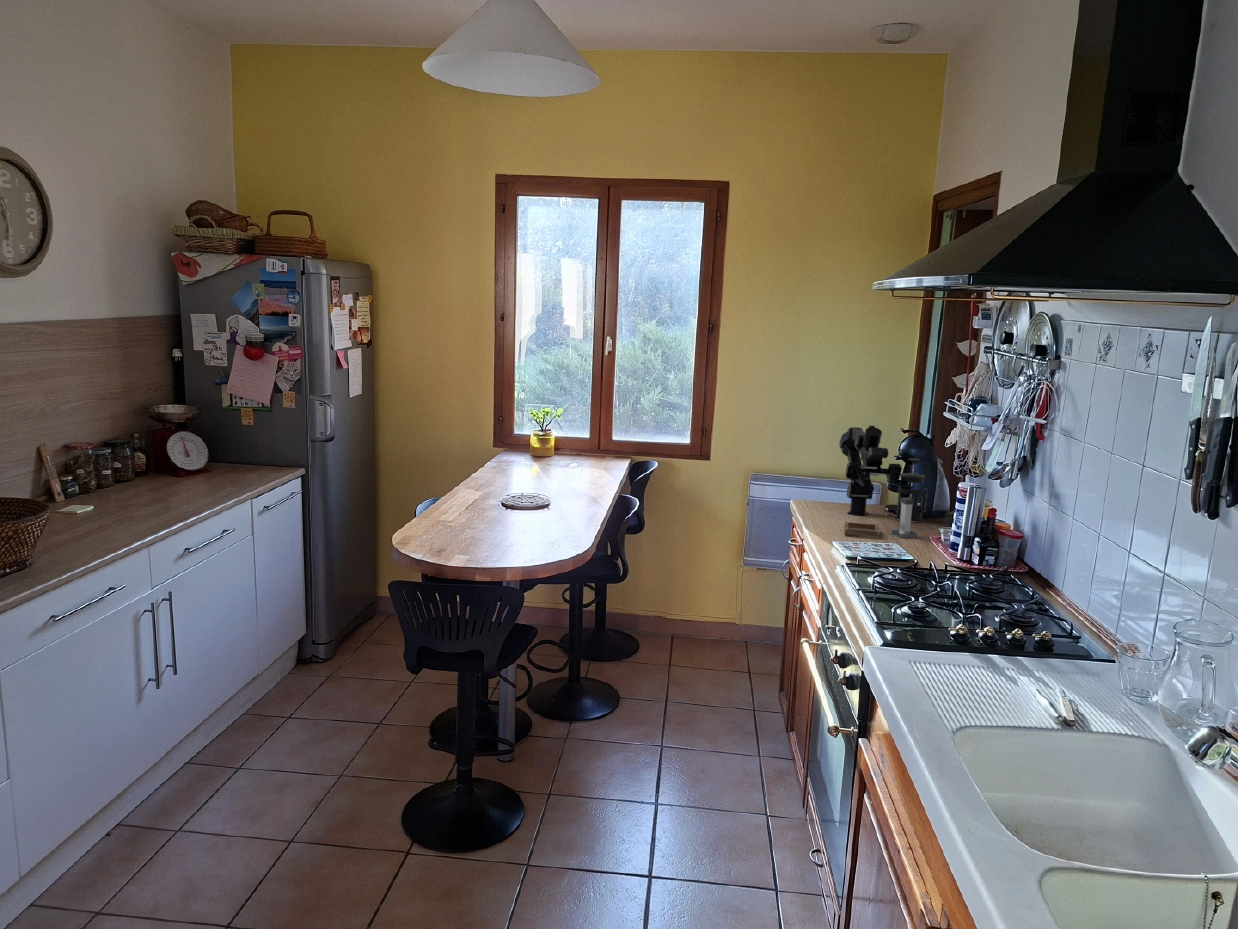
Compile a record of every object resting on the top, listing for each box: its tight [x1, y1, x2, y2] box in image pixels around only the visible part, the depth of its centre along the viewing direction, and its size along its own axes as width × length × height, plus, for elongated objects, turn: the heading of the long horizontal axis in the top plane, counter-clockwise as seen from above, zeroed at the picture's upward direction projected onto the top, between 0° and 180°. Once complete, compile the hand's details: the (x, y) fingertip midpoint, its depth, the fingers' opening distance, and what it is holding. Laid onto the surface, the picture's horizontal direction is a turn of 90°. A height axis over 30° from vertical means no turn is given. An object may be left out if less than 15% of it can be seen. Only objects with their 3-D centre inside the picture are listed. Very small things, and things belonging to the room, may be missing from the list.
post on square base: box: [891, 497, 918, 539], centre depth 297 cm, size 6×6×13 cm
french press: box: [895, 457, 930, 522], centre depth 322 cm, size 12×9×23 cm
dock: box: [843, 521, 881, 540], centre depth 299 cm, size 11×11×2 cm
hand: (877, 486), depth 303 cm, fingers open, 9 cm apart
